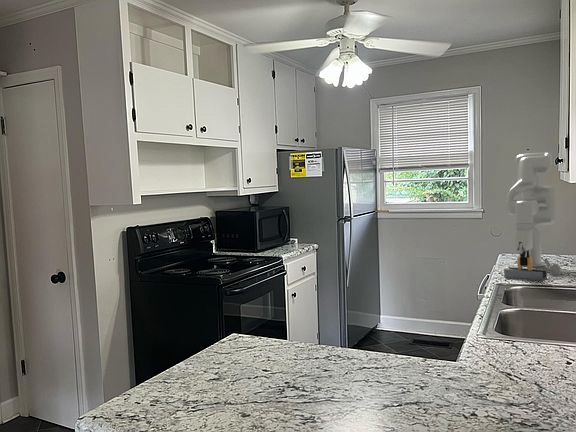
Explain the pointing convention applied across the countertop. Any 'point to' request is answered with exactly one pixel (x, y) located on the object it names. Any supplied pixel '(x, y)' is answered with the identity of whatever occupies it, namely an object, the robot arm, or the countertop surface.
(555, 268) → the grey irregular flat piece
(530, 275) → the grey flat block
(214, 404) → the countertop surface
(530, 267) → the clip
